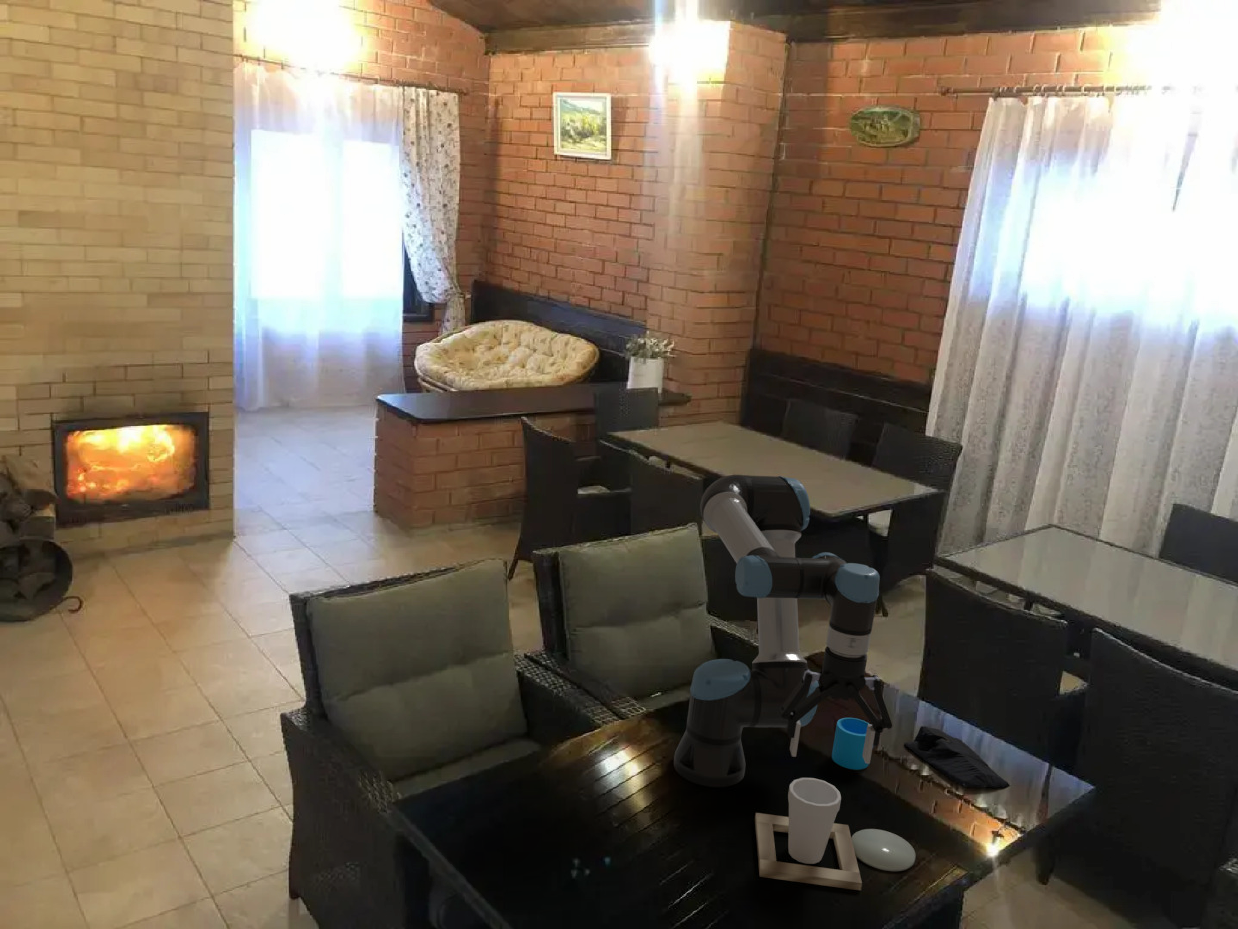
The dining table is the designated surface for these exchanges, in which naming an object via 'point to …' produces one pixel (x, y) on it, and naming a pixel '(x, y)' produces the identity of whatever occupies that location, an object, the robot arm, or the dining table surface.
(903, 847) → the pale grey-green round part
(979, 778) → the black fabric pouch
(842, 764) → the mug
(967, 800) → the dining table surface
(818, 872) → the birch pocket board
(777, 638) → the robot arm
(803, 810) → the foam cup
